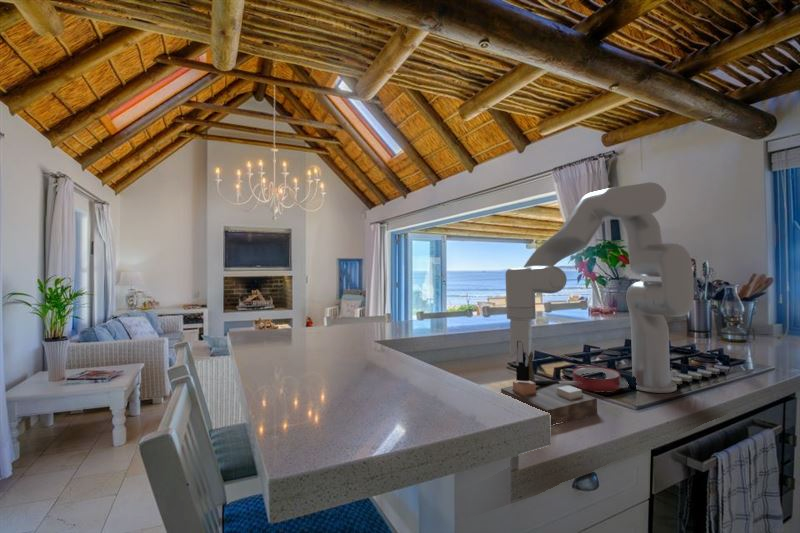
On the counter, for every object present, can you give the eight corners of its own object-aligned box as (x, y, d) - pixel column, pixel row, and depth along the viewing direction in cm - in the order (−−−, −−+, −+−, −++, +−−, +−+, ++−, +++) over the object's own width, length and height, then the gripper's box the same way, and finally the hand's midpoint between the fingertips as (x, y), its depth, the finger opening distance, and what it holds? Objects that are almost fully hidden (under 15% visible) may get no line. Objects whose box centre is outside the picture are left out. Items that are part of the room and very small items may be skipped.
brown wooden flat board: (546, 392, 117) (545, 379, 117) (597, 413, 100) (596, 398, 100) (501, 402, 111) (500, 388, 111) (548, 426, 94) (547, 410, 94)
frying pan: (560, 413, 102) (559, 388, 102) (521, 398, 113) (520, 376, 113) (629, 387, 118) (629, 366, 118) (589, 377, 130) (589, 357, 129)
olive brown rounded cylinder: (537, 387, 121) (535, 352, 121) (516, 387, 123) (515, 352, 122) (534, 381, 127) (533, 347, 127) (515, 381, 129) (513, 347, 128)
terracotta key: (525, 389, 110) (525, 378, 110) (535, 393, 106) (535, 383, 106) (513, 391, 109) (512, 381, 109) (523, 396, 105) (522, 385, 105)
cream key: (569, 395, 106) (569, 385, 106) (582, 400, 102) (581, 389, 102) (557, 398, 104) (557, 387, 104) (569, 403, 100) (569, 392, 100)
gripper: (510, 309, 115) (512, 371, 116) (502, 316, 102) (505, 387, 102) (537, 309, 112) (539, 373, 113) (533, 317, 99) (535, 390, 99)
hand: (523, 379), depth 107 cm, fingers closed
